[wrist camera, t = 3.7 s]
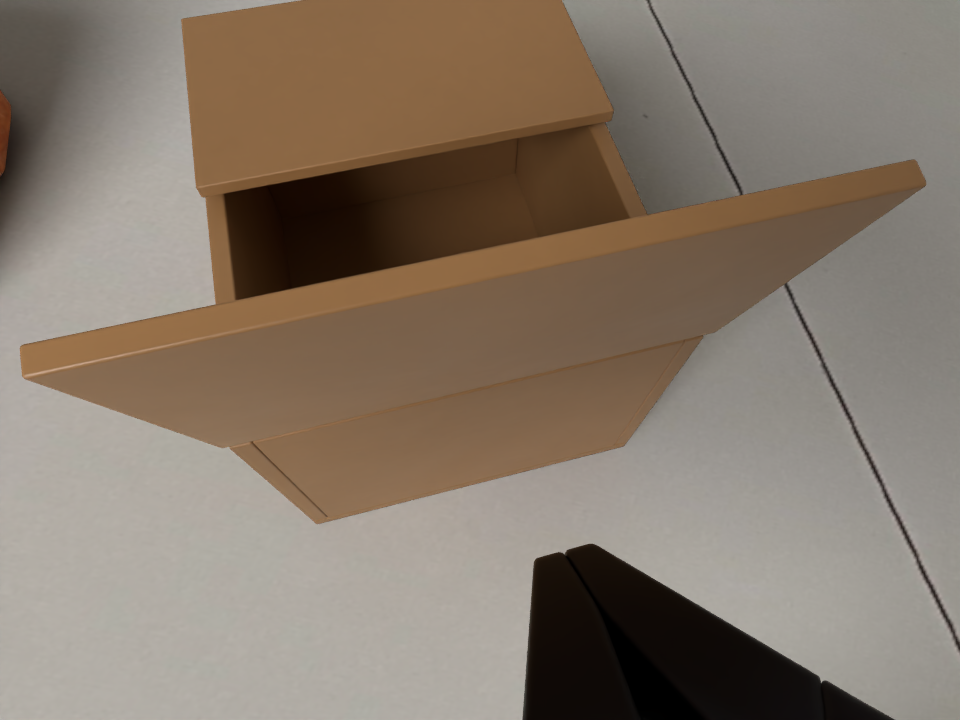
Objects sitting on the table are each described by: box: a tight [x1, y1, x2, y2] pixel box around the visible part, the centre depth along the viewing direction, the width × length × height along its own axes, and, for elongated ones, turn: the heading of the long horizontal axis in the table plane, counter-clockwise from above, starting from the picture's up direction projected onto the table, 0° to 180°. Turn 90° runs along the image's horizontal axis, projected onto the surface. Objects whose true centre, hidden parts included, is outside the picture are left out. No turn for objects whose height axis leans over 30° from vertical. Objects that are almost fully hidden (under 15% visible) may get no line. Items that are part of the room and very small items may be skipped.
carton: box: [181, 0, 703, 524], centre depth 20 cm, size 13×11×9 cm
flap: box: [20, 160, 926, 448], centre depth 10 cm, size 6×11×1 cm
